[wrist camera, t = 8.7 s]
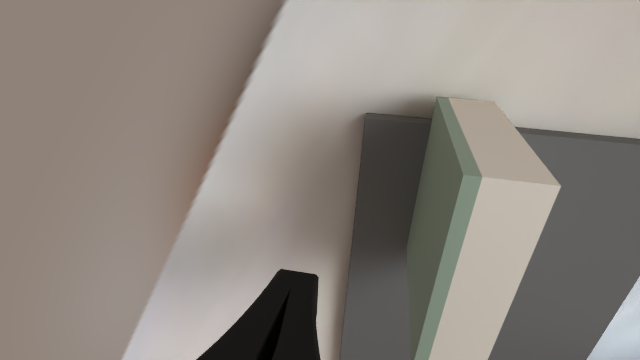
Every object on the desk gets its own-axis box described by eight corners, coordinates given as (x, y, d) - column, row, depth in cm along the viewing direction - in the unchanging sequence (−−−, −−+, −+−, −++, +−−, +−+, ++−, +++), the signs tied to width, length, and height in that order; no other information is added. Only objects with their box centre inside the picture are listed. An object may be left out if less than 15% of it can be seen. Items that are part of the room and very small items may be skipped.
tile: (451, 254, 16) (478, 382, 11) (406, 247, 17) (411, 370, 12) (494, 101, 13) (561, 186, 8) (436, 97, 13) (463, 174, 8)
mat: (525, 438, 23) (529, 449, 22) (335, 400, 24) (334, 409, 24) (705, 145, 13) (718, 152, 12) (366, 112, 15) (365, 117, 14)
